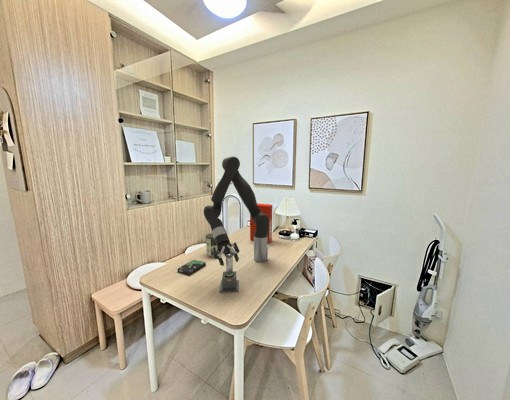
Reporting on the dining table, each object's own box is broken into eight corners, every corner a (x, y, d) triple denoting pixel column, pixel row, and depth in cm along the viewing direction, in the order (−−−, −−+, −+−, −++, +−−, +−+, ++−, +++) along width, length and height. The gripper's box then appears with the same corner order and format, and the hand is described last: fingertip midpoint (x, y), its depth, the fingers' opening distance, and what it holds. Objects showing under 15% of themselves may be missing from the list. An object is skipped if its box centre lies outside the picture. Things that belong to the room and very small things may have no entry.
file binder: (268, 243, 177) (269, 206, 172) (250, 240, 184) (250, 204, 178) (271, 240, 185) (272, 204, 179) (253, 237, 191) (253, 202, 186)
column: (234, 274, 116) (234, 251, 114) (234, 279, 112) (233, 255, 109) (225, 274, 116) (224, 252, 114) (224, 279, 111) (224, 256, 109)
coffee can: (222, 251, 161) (222, 233, 159) (217, 257, 151) (216, 238, 149) (209, 250, 163) (209, 232, 161) (204, 255, 153) (203, 237, 151)
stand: (238, 281, 120) (238, 269, 119) (238, 291, 110) (238, 279, 109) (221, 281, 119) (220, 270, 118) (219, 292, 110) (219, 280, 108)
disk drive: (190, 277, 126) (206, 266, 139) (189, 272, 125) (206, 262, 138) (177, 272, 130) (194, 262, 143) (177, 268, 130) (194, 258, 143)
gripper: (210, 235, 112) (220, 264, 105) (234, 230, 120) (244, 257, 113) (207, 241, 117) (215, 269, 110) (229, 237, 125) (239, 262, 118)
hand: (230, 263), depth 111 cm, fingers open, 8 cm apart
